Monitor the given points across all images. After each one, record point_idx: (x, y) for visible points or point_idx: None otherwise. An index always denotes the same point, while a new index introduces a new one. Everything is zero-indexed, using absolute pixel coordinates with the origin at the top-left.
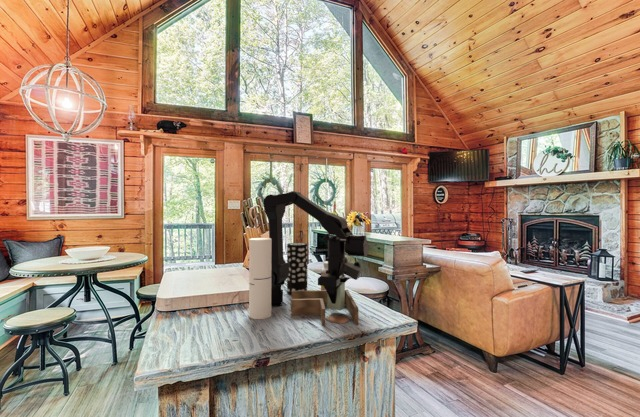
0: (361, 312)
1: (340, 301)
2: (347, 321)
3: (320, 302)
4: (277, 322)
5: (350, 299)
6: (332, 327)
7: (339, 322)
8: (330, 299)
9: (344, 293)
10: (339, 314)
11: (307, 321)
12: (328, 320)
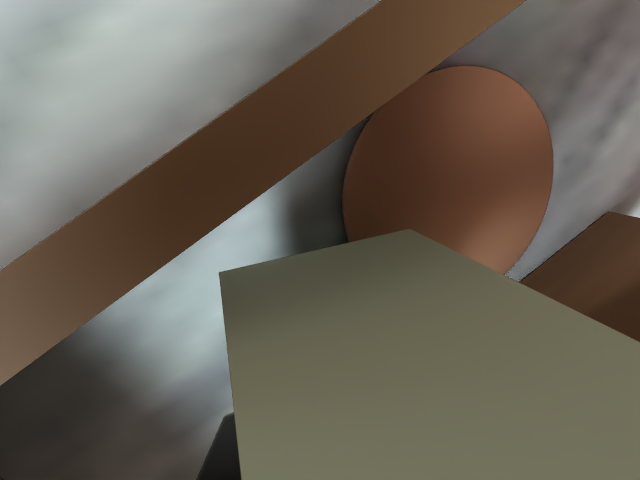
0: (60, 18)
1: (497, 272)
2: (478, 69)
3: None
4: None
5: (311, 149)
6: (628, 138)
7: (545, 127)
8: None
9: (261, 416)
10: (355, 239)
11: None
12: (522, 246)
